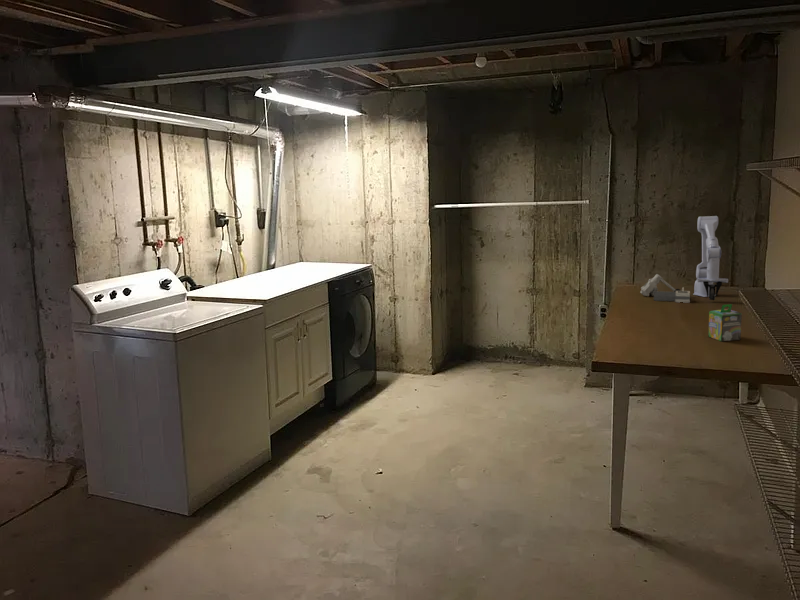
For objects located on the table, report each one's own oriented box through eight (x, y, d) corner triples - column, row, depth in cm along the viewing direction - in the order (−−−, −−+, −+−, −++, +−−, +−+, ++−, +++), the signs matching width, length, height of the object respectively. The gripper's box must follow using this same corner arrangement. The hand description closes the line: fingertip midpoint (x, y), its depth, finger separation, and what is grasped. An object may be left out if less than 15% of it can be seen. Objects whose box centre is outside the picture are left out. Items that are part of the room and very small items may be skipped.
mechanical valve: (638, 289, 372) (657, 269, 366) (663, 308, 370) (682, 289, 364) (638, 293, 362) (658, 274, 356) (664, 313, 361) (683, 294, 355)
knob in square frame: (654, 295, 364) (655, 286, 363) (689, 296, 357) (689, 287, 356) (653, 301, 348) (653, 292, 347) (689, 302, 341) (690, 293, 340)
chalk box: (726, 335, 273) (728, 301, 271) (741, 340, 264) (743, 305, 262) (707, 336, 272) (708, 302, 269) (721, 342, 263) (722, 306, 260)
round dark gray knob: (706, 299, 341) (706, 284, 339) (712, 298, 342) (712, 284, 340) (711, 300, 337) (712, 285, 336) (717, 299, 338) (718, 285, 337)
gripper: (697, 271, 336) (697, 296, 339) (728, 271, 330) (727, 297, 333) (697, 269, 342) (696, 294, 345) (728, 269, 336) (726, 295, 339)
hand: (711, 295), depth 339 cm, fingers closed on round dark gray knob, 3 cm apart
